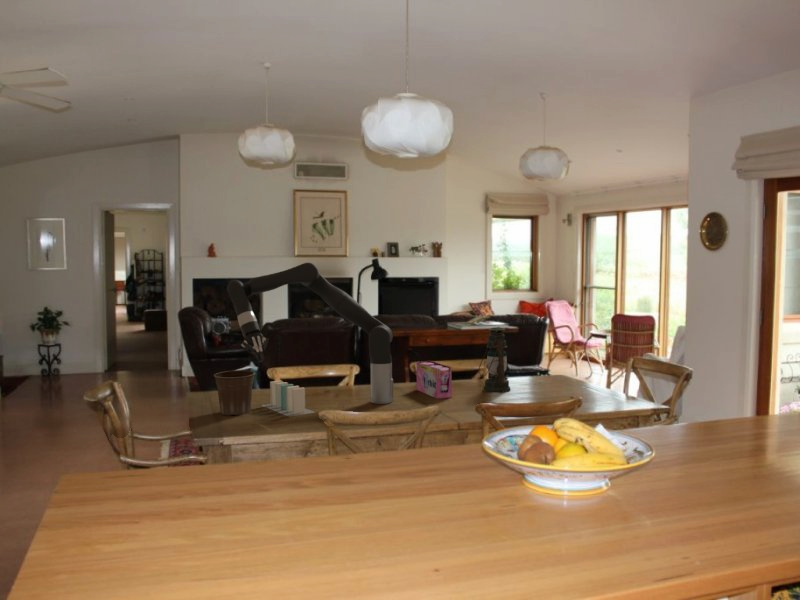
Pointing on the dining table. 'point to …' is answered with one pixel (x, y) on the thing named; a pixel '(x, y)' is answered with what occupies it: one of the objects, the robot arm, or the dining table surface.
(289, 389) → the domino
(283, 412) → the pale grey flat board
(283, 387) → the teal tile
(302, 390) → the domino
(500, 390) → the lantern
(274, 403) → the domino
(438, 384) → the gum box
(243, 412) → the plant pot
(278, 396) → the domino
